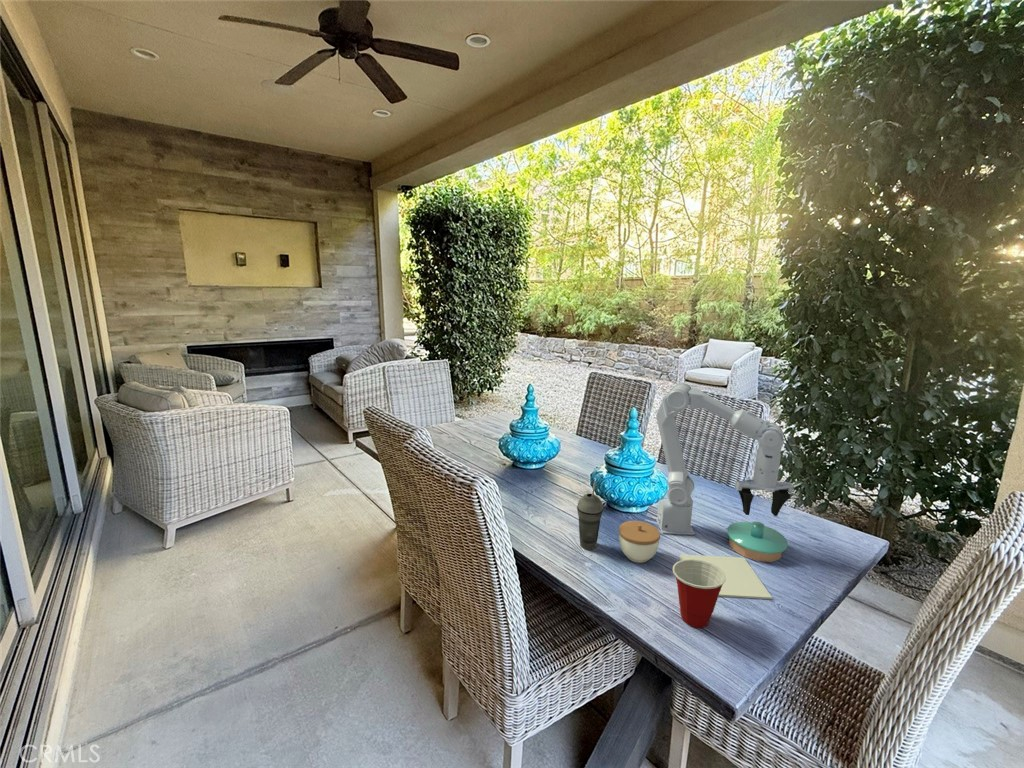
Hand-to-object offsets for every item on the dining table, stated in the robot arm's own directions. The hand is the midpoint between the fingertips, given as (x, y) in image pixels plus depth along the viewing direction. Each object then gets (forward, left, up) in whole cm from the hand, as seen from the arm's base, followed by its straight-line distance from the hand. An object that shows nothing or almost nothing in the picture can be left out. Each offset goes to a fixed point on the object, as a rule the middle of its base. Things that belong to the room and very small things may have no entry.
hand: (760, 513), depth 127 cm
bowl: (0, 0, -10) cm, 10 cm away
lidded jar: (-34, -7, -11) cm, 37 cm away
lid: (0, 0, -7) cm, 7 cm away
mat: (-14, -14, -10) cm, 23 cm away
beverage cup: (-47, -3, -11) cm, 49 cm away
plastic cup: (-26, -30, -11) cm, 41 cm away
